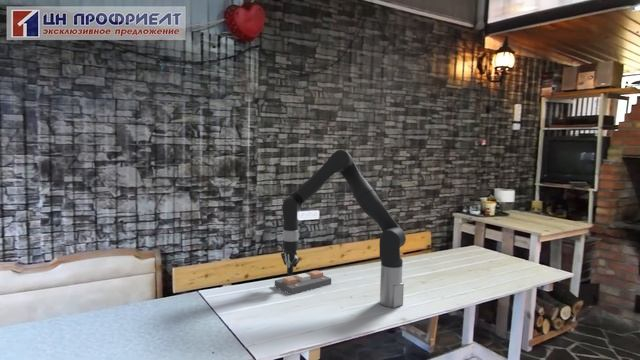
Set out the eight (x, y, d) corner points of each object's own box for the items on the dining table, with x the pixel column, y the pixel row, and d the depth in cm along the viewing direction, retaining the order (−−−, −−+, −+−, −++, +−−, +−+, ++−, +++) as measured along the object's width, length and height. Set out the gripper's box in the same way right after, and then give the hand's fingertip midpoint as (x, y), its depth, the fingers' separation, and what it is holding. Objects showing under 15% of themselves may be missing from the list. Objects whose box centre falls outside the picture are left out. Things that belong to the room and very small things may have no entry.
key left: (297, 285, 196) (297, 278, 195) (288, 287, 192) (288, 280, 192) (291, 282, 199) (291, 276, 199) (282, 284, 196) (282, 278, 196)
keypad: (331, 284, 203) (331, 277, 203) (291, 294, 188) (291, 288, 188) (313, 277, 214) (313, 271, 214) (274, 286, 199) (274, 280, 199)
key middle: (310, 281, 201) (310, 275, 200) (302, 283, 198) (302, 277, 197) (304, 279, 205) (304, 273, 204) (296, 281, 201) (296, 275, 201)
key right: (323, 278, 206) (323, 272, 205) (315, 280, 203) (315, 274, 202) (316, 276, 210) (316, 270, 209) (309, 277, 206) (309, 272, 206)
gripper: (305, 240, 191) (304, 276, 193) (288, 235, 202) (288, 269, 203) (292, 242, 187) (291, 280, 188) (276, 237, 197) (275, 272, 198)
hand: (289, 274), depth 196 cm, fingers closed
